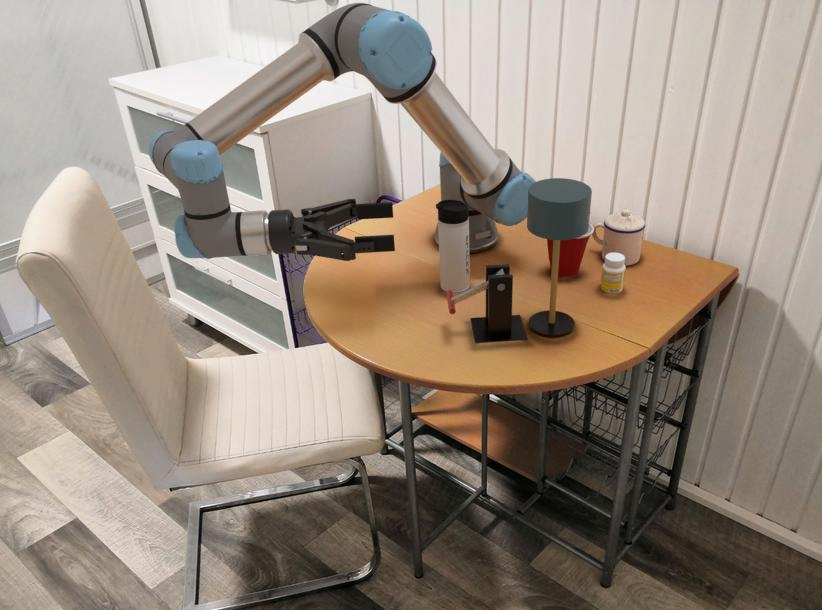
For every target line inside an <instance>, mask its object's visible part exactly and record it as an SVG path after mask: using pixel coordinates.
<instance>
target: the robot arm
mask: <svg viewBox="0 0 822 610" xmlns="http://www.w3.org/2000/svg"><path fill="white" fill-rule="evenodd" d="M297 40H298V41H297V43H296V44H295V45H293V46H292V47H290V48H289V49H288V50H286V51H285V52H283V53H282V54H280V55H279V56H277V58H275V59H273V60H272V61H271V62H270V63H268V64H267V65H265V66H264V67H262V68H261V69H260V70H258V71H257V72H255V73H253V75H251V76H250V77H249V78H247V79H246V80H244V81H243V82H242V83H240V84H239V85H238V86H236V87H235V88H233V89H232V90H231V91H230V92H228V93H227V94H225V95H224V96H222V97H221V98H219V99H218V100H217V101H216V102H214V103H213V104H211V105H209V107H207V108H205V109H204V110H203V111H202V112H200V113H199V114H198V115H196V116H194V117H193V118H192V119H190V120H189V121H187V122H186V123H185V124H183V125H181V126H180V127H179V128H177V129H176V130H172V129H171V130H169V129H168V130H167V129H165V130H162V131H159V132H157V133H156V134H155V135H154V136H152V138H151V140H150V141H149V144H148V157H149V159H150V161H151V162H152V164H153V166H154V168H155V169H156V170H157V171H158V173H159V174H161V175H163V176H164V177H165V178H166V179H167V180H168V181H169V182H170V183H171V184H172V185H173V186H174V187H175V189H177V190H178V193H179V196H180V201H181V204H182V208H183V213H184V214H180V215H178V216H177V217H176V218H175V221H174V228H173V229H174V237H175V239H174V240H175V244H176V248H177V250H178V252H179V253H180V255H182V256H183V257H184V258H186V259H207V260H210V259H214V258H215V259H216V258H228V257H241V256H243V257H247V256H255V257H257V258H258V257H261V256H263V255H264V256H266V255H270V254H271V253H272V252H273V253H274V254H275V255H284V254H285V255H286V254H287V255H288V254H294V253H296V255H299V256H300V255H301V256H315V257H321V258H325V259H326V258H327V259H331V260H336V261H337V260H338V261H344V262H350V261H354V260H356V259H357V254H368V253H369V254H371V253H385V252H386V253H387V252H396V246H395V245H396V244H395V234H380V235H379V234H378V235H363V236H362V235H361V236H359V235H358V236H354V239H352V238H348V237H345V236H342V235H339V234H335V233H332V232H330V231H329V230H330V228H332V227H335V226H337V225H340V224H343V223H345V222H348V221H350V220H352V219H354V218H357V220H375V219H376V220H377V219H393V218H394V208H393V207H394V206H393V201H388V202H372V203H371V202H369V203H368V202H367V203H357V200H356V199H355V198H347V199H343V200H339V201H335V202H330V203H327V204H322V205H319V206H315V207H306V208H301V209H300V215H301V216H299V217H295V216H294V213H293V211H292V210H291V209H289V208H288V209H287V208H286V209H272V210H271V211H269V212H268V211H267V210H265V209H263V210H262V209H261V210H249V211H247V210H246V211H232V209H231V208H232V207H231V203H230V198H229V193H228V188H227V183H226V178H225V173H224V164H223V161H222V159H221V155H223V154H224V153H225V152H226V151H227V152H228V150H230V149H231V148H232V147H233V146H235V145H236V144H238V143H239V142H241V141H242V140H243V139H244V138H246V137H247V136H248V135H250V134H251V133H253V132H254V131H256V130H257V129H258V128H260V127H261V126H263V125H264V124H265V123H267V122H268V121H269V120H271V119H272V118H274V117H275V116H276V115H277V114H279V113H280V112H282V111H283V110H284V109H286V108H288V106H290V105H291V104H292V103H294V102H295V101H297V100H298V99H300V98H301V97H302V96H304V95H305V94H307V93H308V92H310V91H311V90H312V89H314V88H315V87H316V86H318V85H319V84H320V83H321V82H323V81H327V82H334V81H335V80H336V79H337V78H339V77H340V76H342V75H344V74H347V73H351V72H352V73H353V72H354V73H356V74H359V75H361V76H364V77H365V78H366V79H367V80H368V81H369V82H370V83H371V84H372V85H373V87H374V88H375V89H376V91H378V93H379V94H380V95H381V96H382V97H383V98H384V99H385V100H386V102H388V103H389V104H393V105H399V104H400V105H401V106H402V107H403V109H404V110H405V111H406V113H408V115H409V116H410V117H411V118H412V120H414V122H415V123H416V124H417V125H418V127H419V128H420V129H421V130H422V132H423V133H424V135H426V136H427V137H428V138H429V140H430V141H431V142H432V143H433V144H434V146H435V147H436V148H437V149H438V150H439V151H440V153H439V161H438V162H439V163H438V167H439V182H440V183H439V184H440V201H443V200H457V201H461V202H463V203H464V204H466V205H467V206H468V212H469V213H468V215H469V254H477V253H482V252H485V251H487V250H490V249H492V248H493V247H495V246H496V245H497V244H498V242H499V230H498V227H497V224H499V225H502V226H505V227H512V226H517V225H519V224H521V223H522V222H523V221H525V220H527V212H528V189H529V187H530V185H531V184H533V183H535V182H537V180H536V179H534V177H533V176H531V175H530V174H529V173H527V172H524V171H521V169H519V168H518V167H517V165H516V164H515V163H514V161H513V160H512V158H511V157H510V156H509V155H508V153H507V152H506V151H505V150H503V149H500V148H494V147H493V146H492V145H491V143H490V142H489V140H488V139H487V138H486V137H485V135H484V134H483V133H482V131H481V130H480V129H479V127H478V126H477V125H476V123H475V122H474V121H473V119H472V118H471V117H470V115H469V114H468V113H467V112H466V110H465V109H464V108H463V106H462V104H460V102H459V101H458V100H457V98H456V97H455V95H454V94H453V93H452V92H451V91H450V89H449V87H447V85H446V84H445V82H444V81H443V80H442V79H441V78H440V76H439V74H437V72H436V70H437V65H438V64H437V63H438V62H437V59H436V57H435V55H434V54H433V53H432V51H433V45H432V41H431V39H430V36H429V34H428V32H427V30H426V29H425V28H424V27H423V25H422V24H421V23H420V22H418V20H416V19H414V18H413V17H411V16H409V15H408V14H405V13H404V12H401V11H398V10H391V9H387V8H383V7H378V6H375V5H372V4H370V3H365V2H353V3H348V4H346V5H343V6H341V7H339V8H337V9H335V10H334V11H332V12H330V13H328V14H327V15H325V16H323V17H322V18H320V19H319V20H317V21H316V22H315V23H313V24H312V25H310V26H309V27H308V28H306V29H305V30H303V31H302V32H301V33H299V35H298V39H297ZM496 223H497V224H496ZM434 242H435V244H436V246H437V247H439V234H438V222H437V223H436V227H435V229H434Z"/></svg>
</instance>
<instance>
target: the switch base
mask: <svg viewBox="0 0 822 610" xmlns="http://www.w3.org/2000/svg"><path fill="white" fill-rule="evenodd" d="M510 267H511V266H510V264H509V263H506V264H505V263H504V264H503V263H502V264H486V265H485V282H486V281H488V289H486V290H485V316H481V317H480V316H479V317H478V316H477V317H470V323H471V330H472V334H473V338H474V339H473V340H474V343H475V344H485V343H486V344H487V343H502V342H516V341H528V337H527V333H526V330H525V327H524V324H523V320H522V316H521V314H513V289H514V288H513V287H514V286H513V285H514V276H513V274H512V273H510V271H511V270H510V269H511V268H510ZM500 269H503V271H504V273H505V275H491V276H489V275H490V274H492V273H494V272H496V271H498V270H500Z"/></svg>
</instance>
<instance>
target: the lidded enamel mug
mask: <svg viewBox="0 0 822 610" xmlns="http://www.w3.org/2000/svg"><path fill="white" fill-rule="evenodd" d="M593 227H594V231H593V233H592V234H591V237H592V239H593V240H594V241H595V242H596V243H597V244H599V245H601V246H602V247H601V258H602V260H603V261H605V256H606V255H607V254H608V253H620V254H622V255H624V256H625V263H624V265H625V267H627V266H632V265H635V264H637V263H638V262H639V261H640V259H641V253H642V244H643V239H644V238H643V237H644V229H645V228H646V222H645V219H644V218H642V217H641V216H640V215H638V214H634V213H631V209H628V208H624V209H622V210H621V212H616V213H611V214H609V215H608V216H606V217H605V218H604V221H603V222H597V223H595V224H593ZM597 228H602V229H603V238H602V239H601V238H599V236H598V235H597Z"/></svg>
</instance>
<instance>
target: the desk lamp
mask: <svg viewBox="0 0 822 610" xmlns="http://www.w3.org/2000/svg"><path fill="white" fill-rule="evenodd" d="M592 193H593V190H592V187H591V186H590V185H589V184H586V183H585V182H582V181H581V180H576V179H572V178H565V177H564V178H563V177H553V178H545V179H541V180H536V182H535V183H533V184H531V185H530V187H529V189H528V212H527V218H526V228H527V231H528V232H529V233H531V234H532V235H534V236H535V237H538V238H541V239H546V240H547V239H550V240H553V257H552V273H551V276H550V293H549V307H548V308H549V309H548V310H541V311H538V312H535V313H534V314H532V315H531V316H530V317H529V319H528V328H529V330H530V331H531V332H532V333H533V334H535V335H537V336H539V337H542V338H547V339H560V338H564V337H567V336H569V335H571V334H572V333H573V332H574V330H575V328H576V322H575V319H574V318H573V317H572V316H571V315H569V314H568V313H565V312H563V311H559V310H556V309H557V296H558V295H557V294H558V293H557V292H558V280H559V276H558V266H559V250H560V240H570V239H575V238H578V237H581V236H583V235H584V234H586V233H587V231H588V229H589V223H590V218H591V217H590V216H591V207H592V206H591V205H592Z"/></svg>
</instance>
